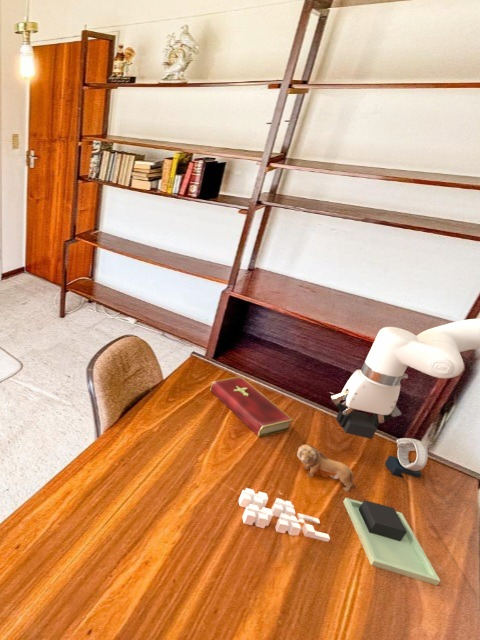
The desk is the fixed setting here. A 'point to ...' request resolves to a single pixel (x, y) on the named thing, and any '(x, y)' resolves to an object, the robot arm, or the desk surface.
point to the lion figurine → (325, 465)
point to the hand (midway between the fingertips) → (354, 426)
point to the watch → (403, 462)
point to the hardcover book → (251, 406)
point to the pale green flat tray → (392, 548)
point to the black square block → (382, 520)
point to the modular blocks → (277, 515)
